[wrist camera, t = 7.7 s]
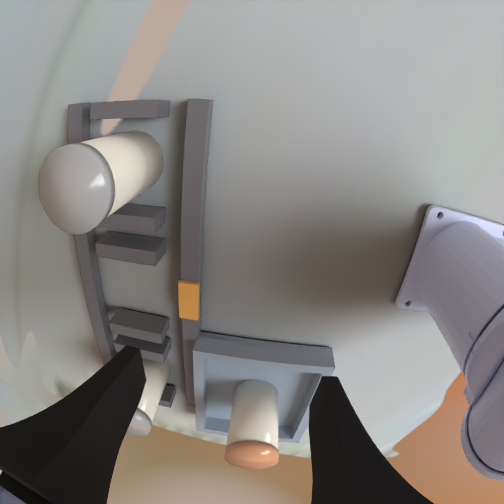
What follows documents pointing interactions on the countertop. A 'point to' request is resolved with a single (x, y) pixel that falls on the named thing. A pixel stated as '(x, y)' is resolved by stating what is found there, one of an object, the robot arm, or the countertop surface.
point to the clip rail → (148, 241)
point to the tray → (256, 368)
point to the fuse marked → (253, 426)
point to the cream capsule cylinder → (97, 178)
